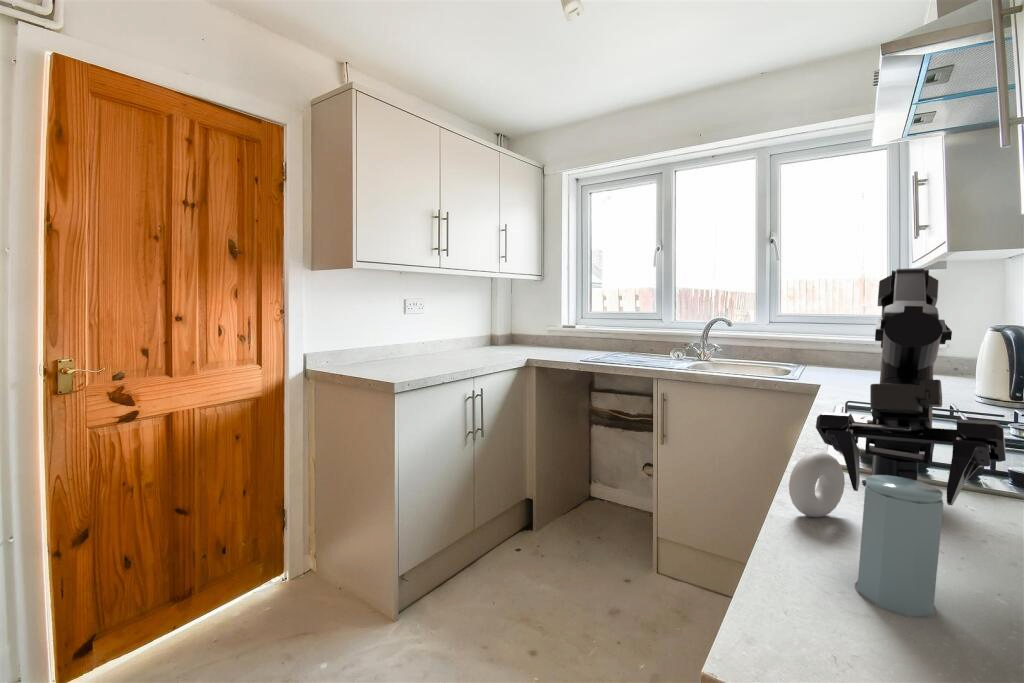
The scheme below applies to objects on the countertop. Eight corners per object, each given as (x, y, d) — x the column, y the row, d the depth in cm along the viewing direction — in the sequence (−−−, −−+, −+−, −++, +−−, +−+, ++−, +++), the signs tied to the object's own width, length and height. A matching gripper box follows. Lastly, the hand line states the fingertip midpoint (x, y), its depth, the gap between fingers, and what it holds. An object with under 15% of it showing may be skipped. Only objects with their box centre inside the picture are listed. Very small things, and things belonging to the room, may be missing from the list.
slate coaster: (841, 579, 57) (841, 576, 57) (904, 583, 56) (904, 580, 56) (881, 618, 50) (881, 615, 50) (953, 623, 49) (954, 620, 49)
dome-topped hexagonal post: (843, 581, 56) (851, 475, 55) (893, 578, 56) (901, 474, 55) (893, 617, 49) (904, 499, 48) (948, 613, 50) (960, 496, 49)
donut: (825, 506, 77) (830, 445, 76) (847, 515, 74) (852, 452, 73) (781, 516, 73) (785, 452, 72) (802, 526, 70) (806, 459, 69)
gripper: (812, 357, 69) (797, 458, 62) (998, 354, 55) (1003, 483, 49) (831, 396, 75) (819, 492, 68) (1003, 402, 61) (1008, 522, 55)
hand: (899, 496), depth 60 cm, fingers open, 9 cm apart
